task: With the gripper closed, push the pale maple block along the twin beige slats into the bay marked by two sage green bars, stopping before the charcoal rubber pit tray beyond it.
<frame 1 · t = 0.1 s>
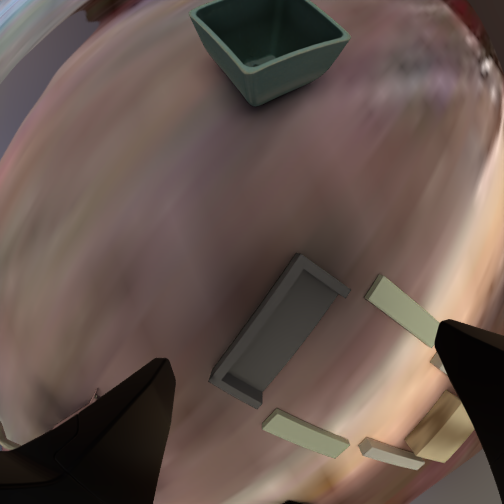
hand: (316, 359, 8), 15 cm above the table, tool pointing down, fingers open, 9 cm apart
flower pot: (265, 79, 23), on the table
flower: (97, 446, 25), on the table
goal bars: (357, 379, 23), on the table
pit tray: (276, 330, 23), on the table
twin beige slats: (425, 415, 23), on the table
maple block: (438, 421, 23), on the table
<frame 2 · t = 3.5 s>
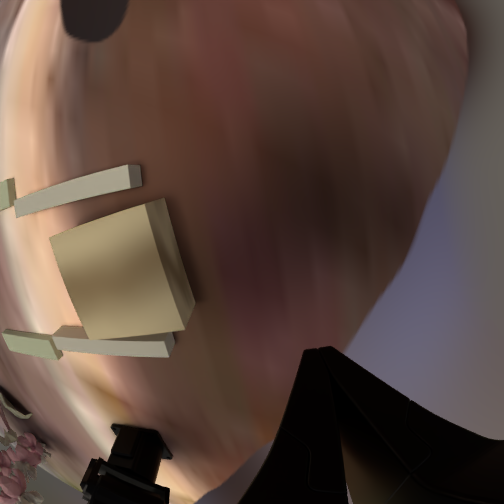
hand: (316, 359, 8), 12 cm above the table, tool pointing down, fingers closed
flower: (30, 424, 28), on the table
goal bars: (6, 276, 19), on the table
twin beige slats: (90, 268, 19), on the table
maple block: (133, 262, 19), on the table
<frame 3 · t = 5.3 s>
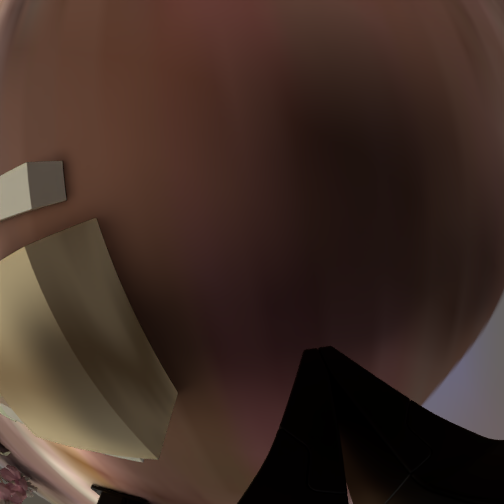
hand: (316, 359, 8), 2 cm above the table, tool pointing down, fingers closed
flower: (12, 458, 19), on the table
twin beige slats: (20, 327, 10), on the table
maple block: (71, 328, 10), on the table
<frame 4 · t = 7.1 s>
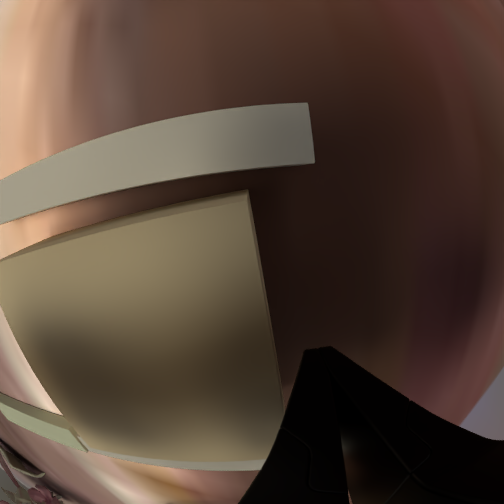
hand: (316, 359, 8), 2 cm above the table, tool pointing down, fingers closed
flower: (42, 478, 19), on the table
twin beige slats: (150, 336, 10), on the table
maple block: (163, 315, 10), on the table
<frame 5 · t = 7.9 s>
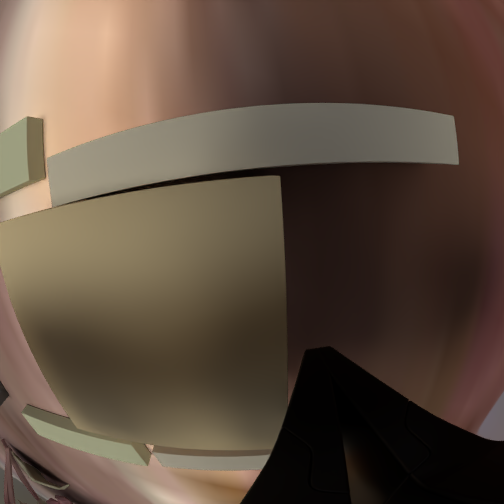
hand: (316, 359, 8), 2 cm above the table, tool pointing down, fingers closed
flower: (63, 488, 19), on the table
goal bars: (21, 330, 10), on the table
twin beige slats: (273, 328, 10), on the table
maple block: (166, 296, 10), on the table, touching gripper
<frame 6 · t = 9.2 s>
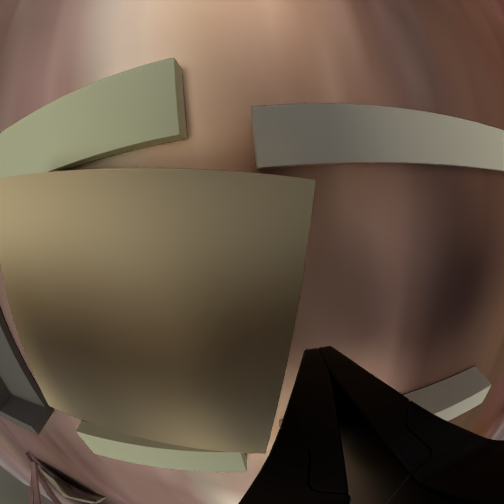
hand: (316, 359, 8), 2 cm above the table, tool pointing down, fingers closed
flower: (93, 500, 19), on the table
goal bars: (102, 335, 10), on the table
twin beige slats: (417, 304, 9), on the table
maple block: (162, 282, 9), on the table, touching gripper
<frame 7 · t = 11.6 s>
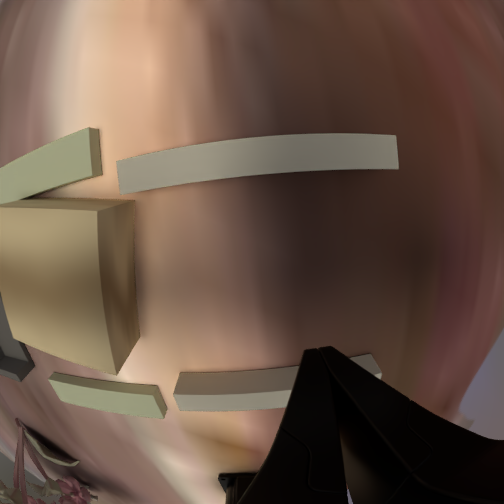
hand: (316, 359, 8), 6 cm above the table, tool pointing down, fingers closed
flower: (71, 468, 23), on the table
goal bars: (63, 298, 14), on the table
twin beige slats: (270, 285, 14), on the table
maple block: (79, 264, 14), on the table
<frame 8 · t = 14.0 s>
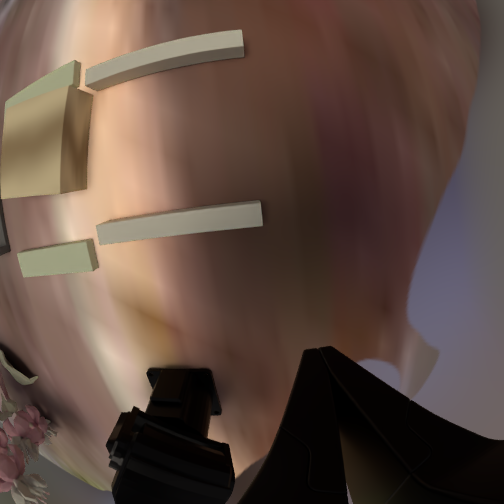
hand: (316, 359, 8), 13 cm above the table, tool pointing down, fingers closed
flower: (34, 395, 27), on the table
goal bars: (41, 173, 18), on the table
twin beige slats: (168, 136, 18), on the table
maple block: (56, 146, 18), on the table
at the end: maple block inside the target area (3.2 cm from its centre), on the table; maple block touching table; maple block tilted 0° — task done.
